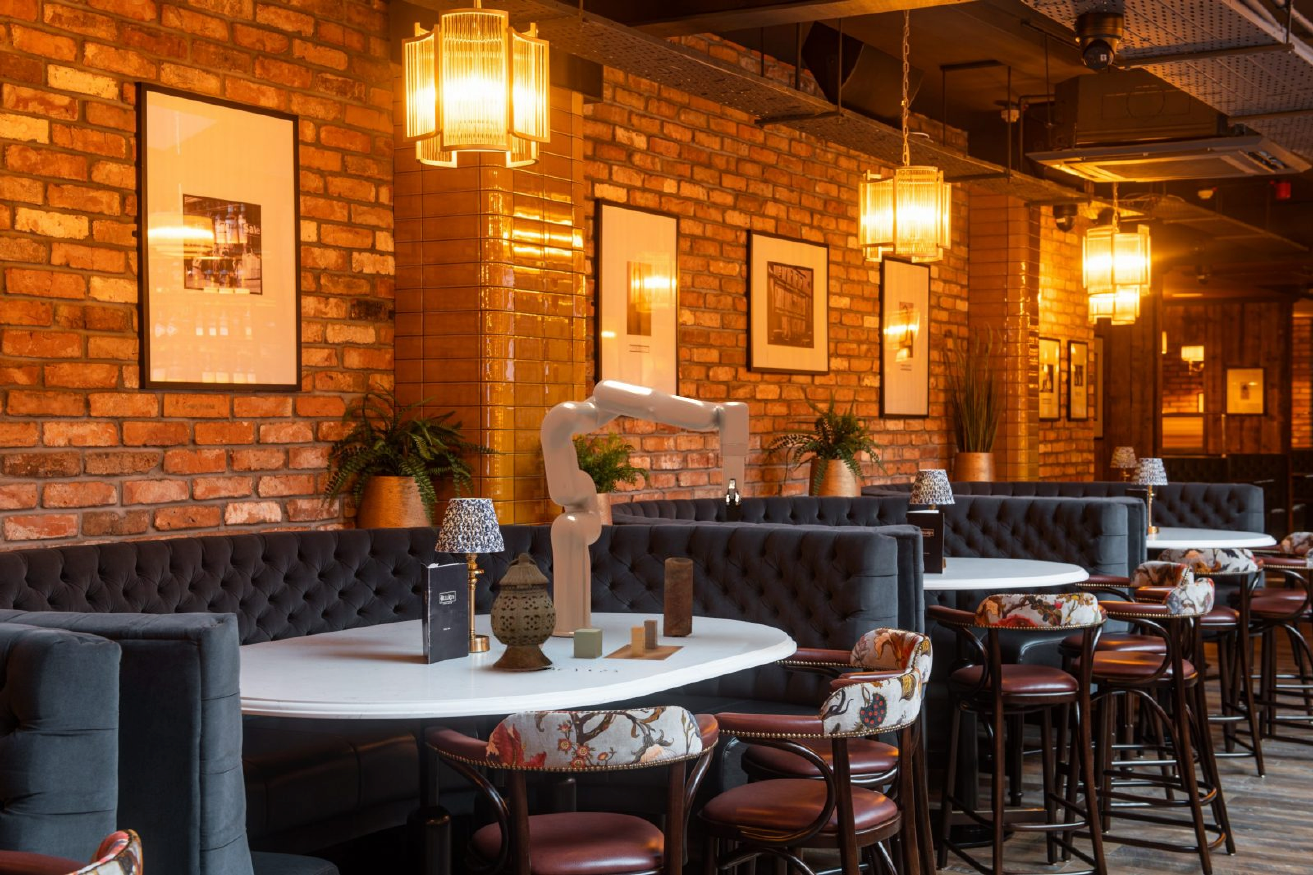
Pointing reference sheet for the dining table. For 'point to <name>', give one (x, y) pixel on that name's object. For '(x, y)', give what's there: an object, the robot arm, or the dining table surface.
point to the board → (650, 654)
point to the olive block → (587, 643)
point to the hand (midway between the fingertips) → (733, 520)
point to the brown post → (650, 634)
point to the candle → (678, 597)
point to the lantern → (523, 618)
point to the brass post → (638, 641)
